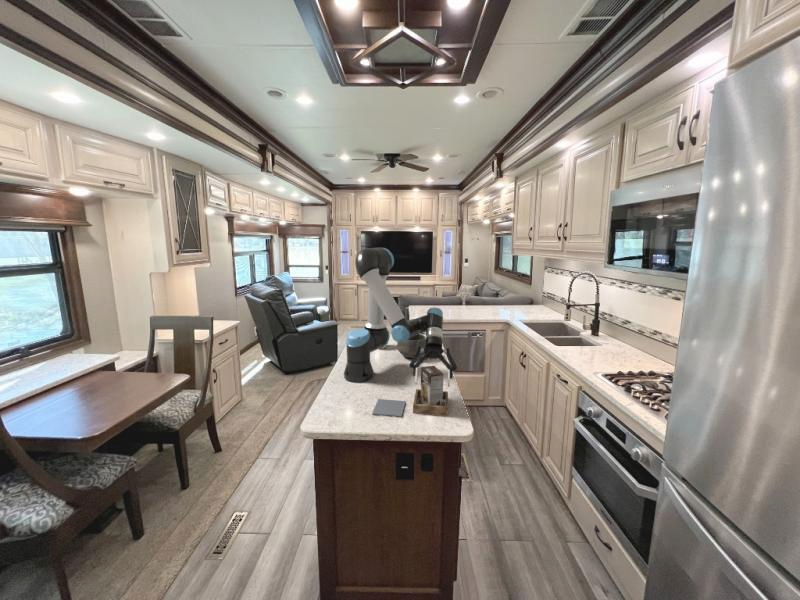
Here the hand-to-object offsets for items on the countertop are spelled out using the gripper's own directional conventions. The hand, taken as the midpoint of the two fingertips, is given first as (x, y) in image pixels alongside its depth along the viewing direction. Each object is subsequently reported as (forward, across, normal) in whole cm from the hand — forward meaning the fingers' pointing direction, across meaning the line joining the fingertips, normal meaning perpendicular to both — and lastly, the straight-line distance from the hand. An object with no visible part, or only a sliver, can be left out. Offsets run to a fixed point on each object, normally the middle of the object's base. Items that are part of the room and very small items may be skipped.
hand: (432, 384), depth 135 cm
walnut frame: (+7, 0, +7) cm, 10 cm away
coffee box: (+7, 0, +8) cm, 10 cm away
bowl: (-33, -14, +47) cm, 59 cm away
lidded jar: (-43, -36, +56) cm, 79 cm away
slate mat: (+10, -17, +4) cm, 20 cm away
